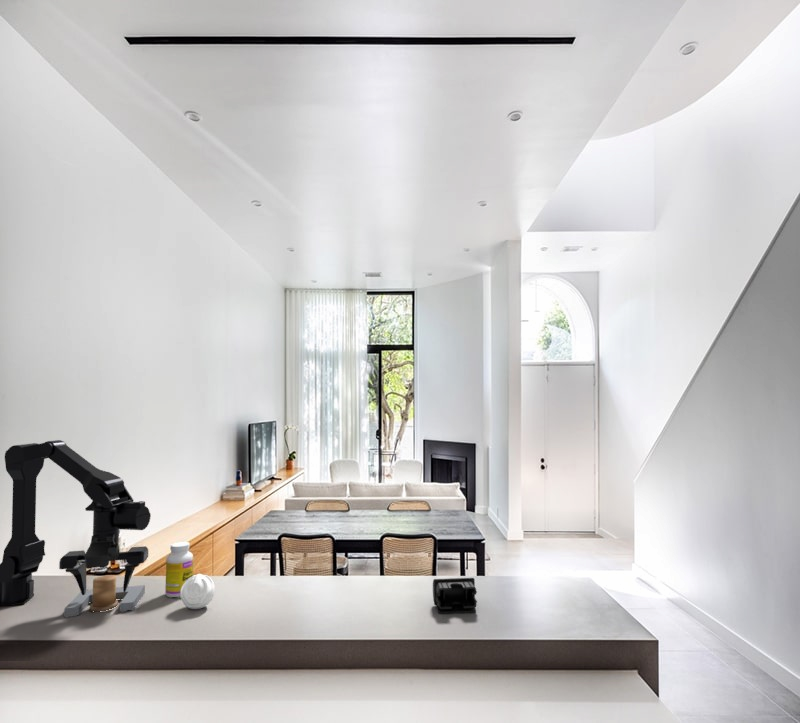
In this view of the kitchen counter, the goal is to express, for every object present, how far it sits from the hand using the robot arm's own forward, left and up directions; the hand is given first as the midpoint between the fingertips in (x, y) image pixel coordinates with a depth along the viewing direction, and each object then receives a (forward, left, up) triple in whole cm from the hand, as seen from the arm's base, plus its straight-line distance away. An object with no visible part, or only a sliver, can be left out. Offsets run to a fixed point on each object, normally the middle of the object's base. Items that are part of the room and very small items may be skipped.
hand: (104, 592), depth 133 cm
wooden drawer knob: (0, 0, -4) cm, 4 cm away
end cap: (+84, -22, -4) cm, 86 cm away
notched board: (0, +2, -4) cm, 4 cm away
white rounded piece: (+23, -6, -4) cm, 24 cm away
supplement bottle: (+17, +5, -4) cm, 18 cm away
